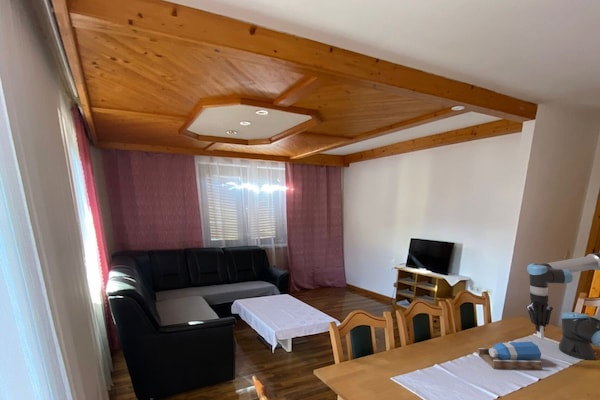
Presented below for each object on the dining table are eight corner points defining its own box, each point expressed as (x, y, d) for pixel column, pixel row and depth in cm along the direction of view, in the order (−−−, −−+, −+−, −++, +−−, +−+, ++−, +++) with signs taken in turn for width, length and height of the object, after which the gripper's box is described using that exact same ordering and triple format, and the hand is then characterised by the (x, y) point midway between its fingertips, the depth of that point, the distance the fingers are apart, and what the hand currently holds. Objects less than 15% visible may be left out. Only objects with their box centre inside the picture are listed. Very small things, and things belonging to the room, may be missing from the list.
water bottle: (539, 343, 149) (496, 345, 147) (543, 363, 147) (500, 365, 145) (524, 339, 158) (483, 341, 156) (527, 357, 156) (486, 359, 154)
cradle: (522, 356, 158) (522, 349, 158) (541, 370, 144) (541, 361, 145) (478, 355, 158) (478, 348, 158) (494, 369, 145) (494, 360, 145)
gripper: (545, 291, 156) (546, 334, 155) (521, 291, 156) (522, 334, 155) (557, 295, 148) (558, 340, 147) (532, 295, 148) (533, 340, 148)
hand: (540, 337), depth 151 cm, fingers closed
